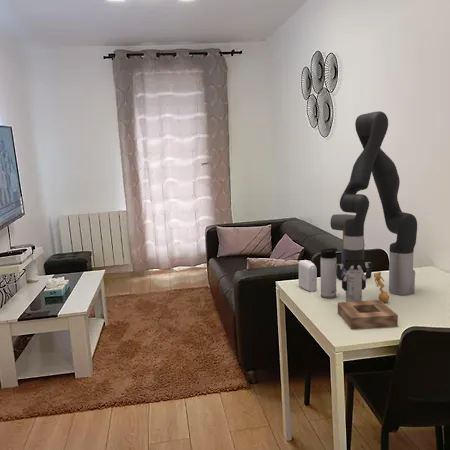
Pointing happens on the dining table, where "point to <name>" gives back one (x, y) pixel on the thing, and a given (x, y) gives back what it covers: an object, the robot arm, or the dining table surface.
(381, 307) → the wooden square frame
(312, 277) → the photo printer
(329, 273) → the travel mug
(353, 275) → the energy drink can
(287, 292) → the dining table surface
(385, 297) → the figurine
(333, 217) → the rubber mallet
